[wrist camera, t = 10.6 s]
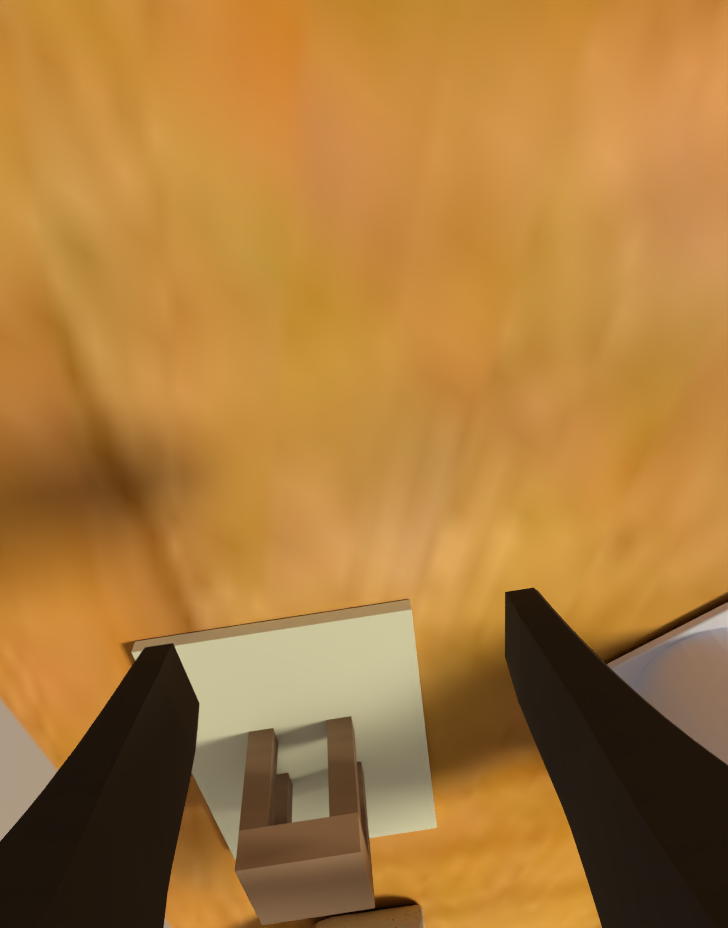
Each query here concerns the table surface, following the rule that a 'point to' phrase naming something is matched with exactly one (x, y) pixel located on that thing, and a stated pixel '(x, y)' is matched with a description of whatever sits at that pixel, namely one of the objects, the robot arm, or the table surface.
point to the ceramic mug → (377, 919)
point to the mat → (312, 710)
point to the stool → (304, 835)
